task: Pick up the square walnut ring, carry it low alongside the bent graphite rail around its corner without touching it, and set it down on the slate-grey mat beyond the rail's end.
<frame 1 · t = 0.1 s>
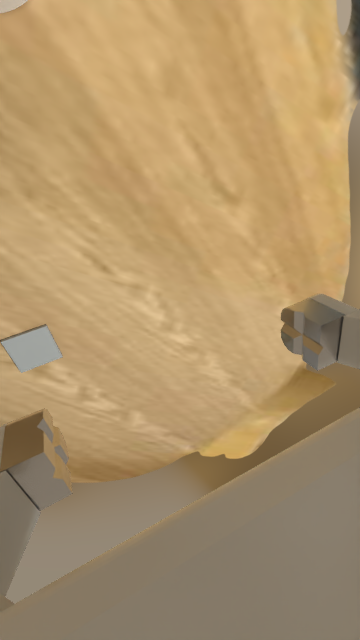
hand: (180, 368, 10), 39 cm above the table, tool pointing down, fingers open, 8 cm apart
mat: (33, 347, 49), on the table
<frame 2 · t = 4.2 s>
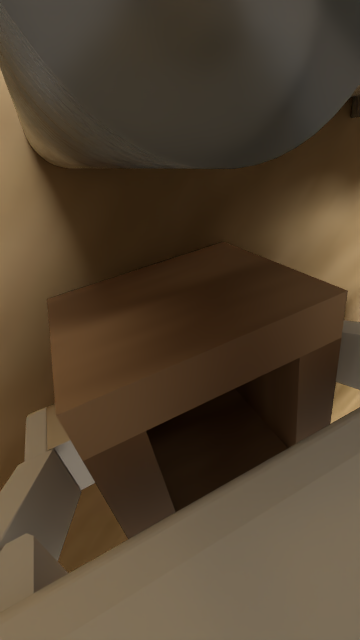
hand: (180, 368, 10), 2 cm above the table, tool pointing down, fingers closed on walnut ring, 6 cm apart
walnut ring: (161, 342, 11), on the table, touching gripper
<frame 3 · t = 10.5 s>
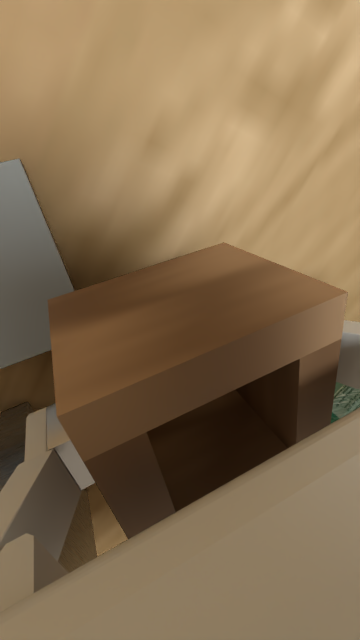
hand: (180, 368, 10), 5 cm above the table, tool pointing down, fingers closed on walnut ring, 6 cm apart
walnut ring: (162, 343, 11), point 4 cm above the table, touching gripper
canned tomato: (308, 376, 23), on the table
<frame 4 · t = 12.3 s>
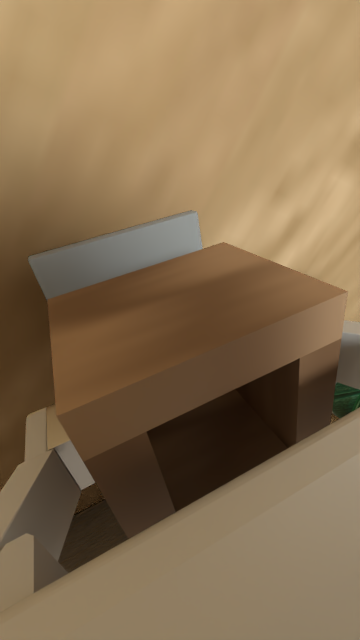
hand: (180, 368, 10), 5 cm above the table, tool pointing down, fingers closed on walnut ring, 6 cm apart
walnut ring: (162, 343, 11), point 4 cm above the table, touching gripper
mat: (137, 304, 14), on the table
canned tomato: (359, 377, 26), on the table
bent rail: (112, 457, 18), on the table
when the fingers open (3 cm above the table, at t = 13.3 s): walnut ring stays where it is, resting on mat.
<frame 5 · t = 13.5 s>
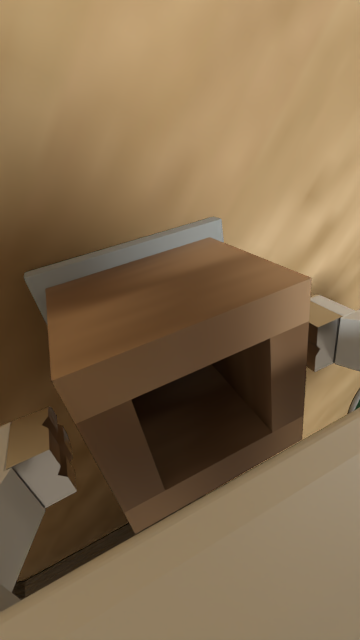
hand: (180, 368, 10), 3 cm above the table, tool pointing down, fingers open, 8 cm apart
walnut ring: (153, 331, 12), point 1 cm above the table, touching mat
mat: (149, 324, 12), on the table
bent rail: (119, 489, 16), on the table
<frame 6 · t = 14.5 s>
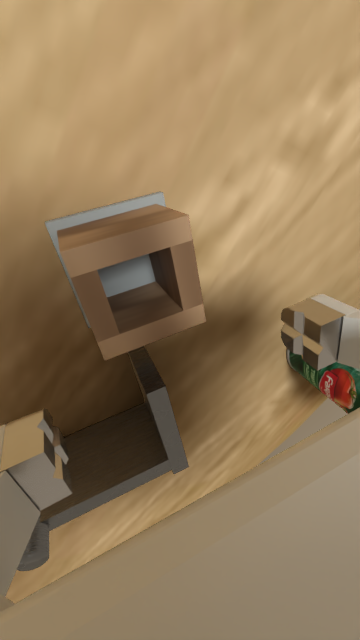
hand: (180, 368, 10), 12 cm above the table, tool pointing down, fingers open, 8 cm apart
walnut ring: (122, 264, 19), point 1 cm above the table, touching mat
mat: (121, 261, 19), on the table
canned tomato: (316, 338, 31), on the table
bent rail: (105, 384, 23), on the table
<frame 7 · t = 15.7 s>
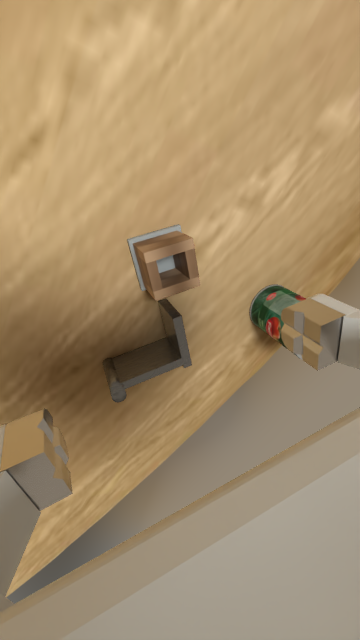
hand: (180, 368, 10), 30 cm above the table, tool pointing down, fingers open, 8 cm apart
walnut ring: (160, 259, 39), point 1 cm above the table, touching mat
mat: (159, 257, 39), on the table
canned tomato: (268, 305, 51), on the table
bent rail: (147, 324, 43), on the table
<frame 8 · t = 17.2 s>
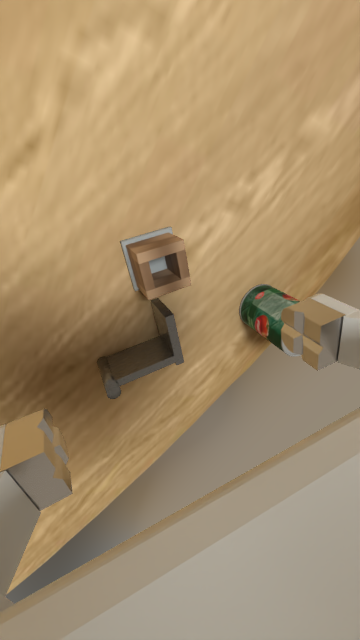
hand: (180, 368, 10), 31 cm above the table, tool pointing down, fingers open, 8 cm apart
walnut ring: (152, 260, 40), point 1 cm above the table, touching mat
mat: (151, 258, 41), on the table
canned tomato: (257, 304, 52), on the table
bent rail: (140, 323, 44), on the table
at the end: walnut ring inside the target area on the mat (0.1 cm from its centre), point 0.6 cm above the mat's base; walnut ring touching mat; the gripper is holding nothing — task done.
